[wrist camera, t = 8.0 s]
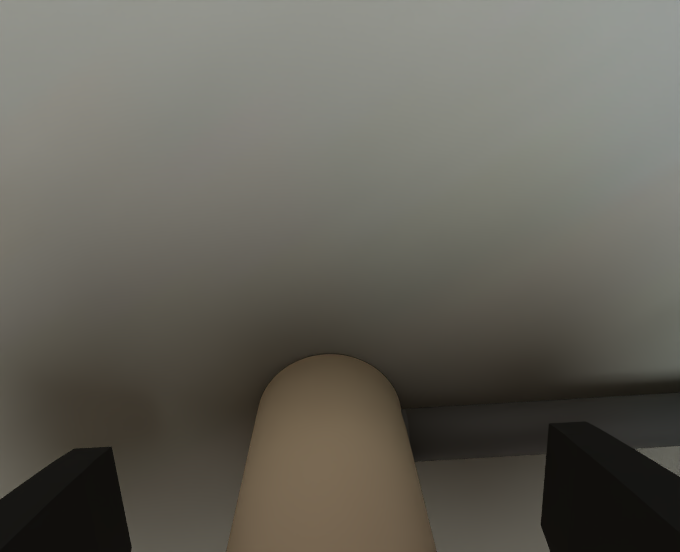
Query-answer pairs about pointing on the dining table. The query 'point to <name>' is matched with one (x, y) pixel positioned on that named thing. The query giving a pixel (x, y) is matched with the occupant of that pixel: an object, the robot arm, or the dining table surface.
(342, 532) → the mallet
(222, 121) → the dining table surface
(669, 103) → the dining table surface
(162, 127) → the dining table surface
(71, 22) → the dining table surface
